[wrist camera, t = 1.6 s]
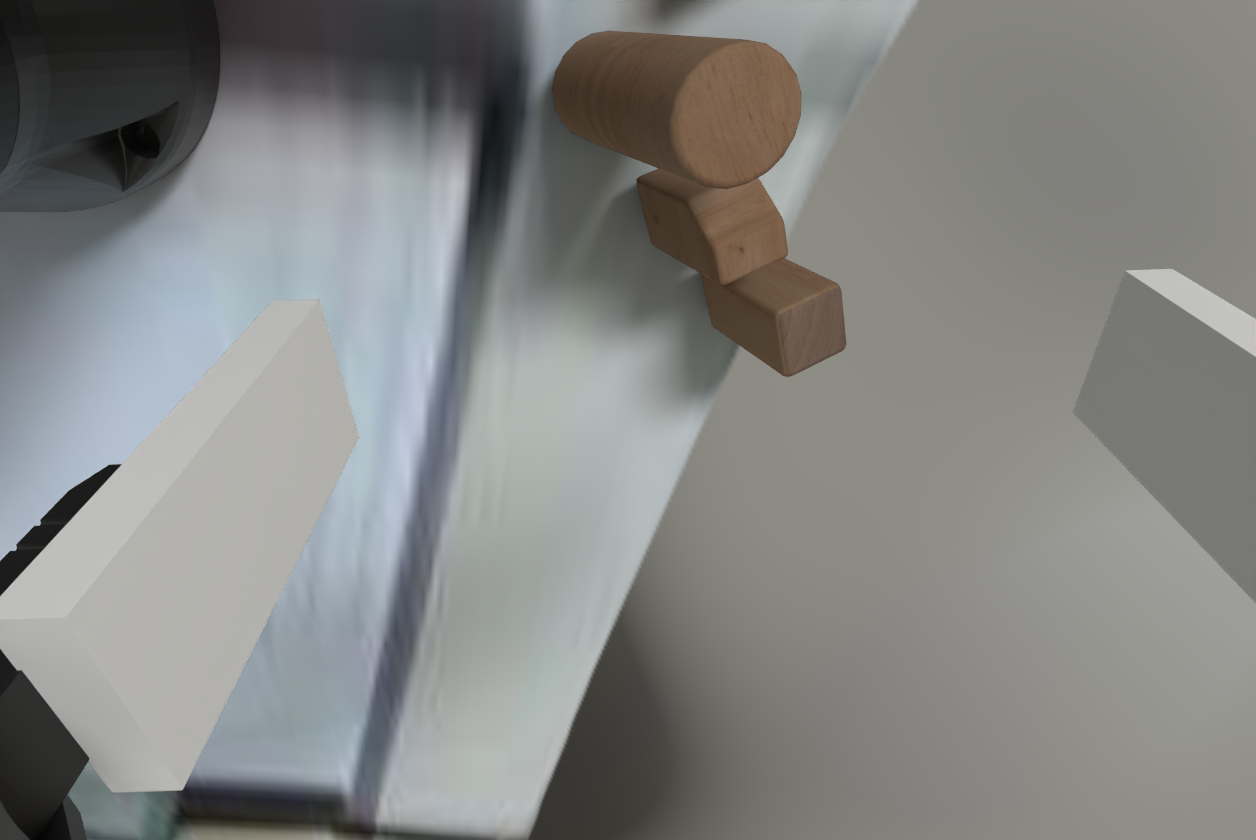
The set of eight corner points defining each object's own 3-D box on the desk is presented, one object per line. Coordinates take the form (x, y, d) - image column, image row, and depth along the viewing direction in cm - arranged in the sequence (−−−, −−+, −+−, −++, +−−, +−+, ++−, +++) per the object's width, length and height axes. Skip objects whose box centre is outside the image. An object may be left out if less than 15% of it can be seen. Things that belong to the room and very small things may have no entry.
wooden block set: (778, 277, 36) (930, 355, 28) (624, 348, 34) (739, 454, 26) (712, -177, 26) (922, -262, 18) (488, -109, 24) (607, -170, 16)
